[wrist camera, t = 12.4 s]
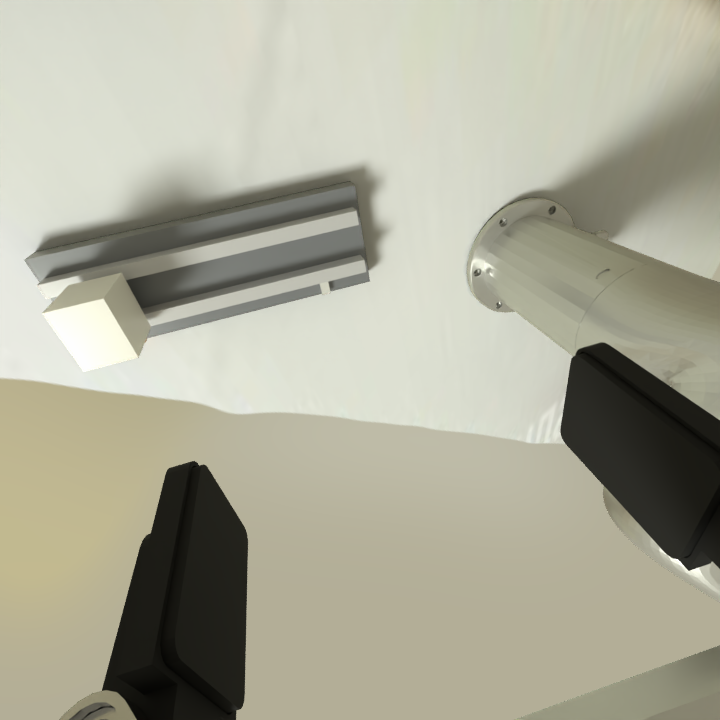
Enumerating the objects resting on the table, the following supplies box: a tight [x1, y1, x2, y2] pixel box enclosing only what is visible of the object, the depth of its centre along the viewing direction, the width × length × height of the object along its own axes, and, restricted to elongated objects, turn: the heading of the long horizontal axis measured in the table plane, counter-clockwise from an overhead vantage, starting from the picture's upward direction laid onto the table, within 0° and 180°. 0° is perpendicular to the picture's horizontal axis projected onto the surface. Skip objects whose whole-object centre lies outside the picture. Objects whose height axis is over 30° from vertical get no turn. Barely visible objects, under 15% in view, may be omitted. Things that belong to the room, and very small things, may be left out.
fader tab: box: [42, 273, 151, 372], centre depth 31 cm, size 4×5×7 cm
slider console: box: [25, 181, 370, 342], centre depth 35 cm, size 27×9×4 cm, turn 100°
